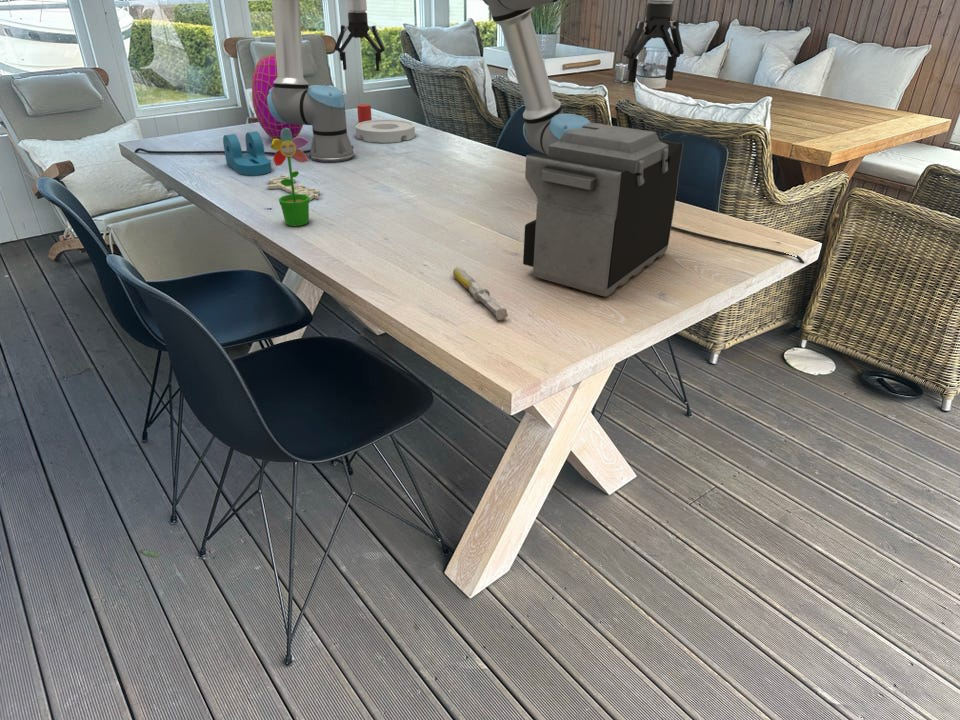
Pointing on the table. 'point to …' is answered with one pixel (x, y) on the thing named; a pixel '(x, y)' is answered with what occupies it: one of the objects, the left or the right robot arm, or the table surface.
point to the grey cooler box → (601, 206)
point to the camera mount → (246, 154)
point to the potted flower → (291, 178)
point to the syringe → (479, 293)
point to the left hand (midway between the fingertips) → (361, 70)
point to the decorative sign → (297, 188)
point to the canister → (364, 112)
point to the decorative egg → (260, 88)
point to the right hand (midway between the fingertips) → (650, 80)
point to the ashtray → (385, 130)
